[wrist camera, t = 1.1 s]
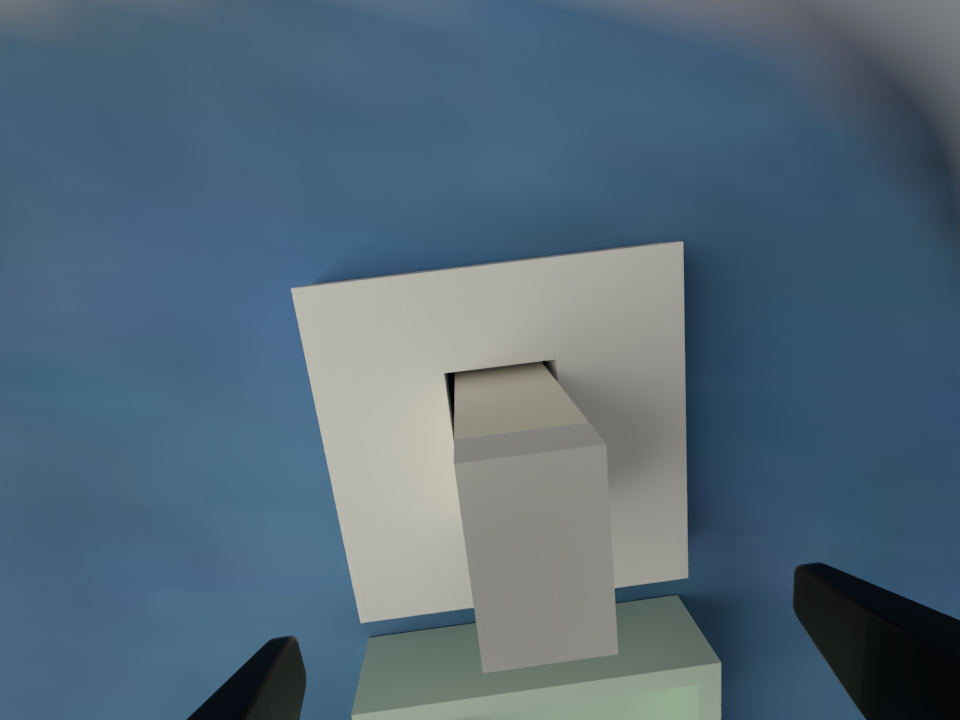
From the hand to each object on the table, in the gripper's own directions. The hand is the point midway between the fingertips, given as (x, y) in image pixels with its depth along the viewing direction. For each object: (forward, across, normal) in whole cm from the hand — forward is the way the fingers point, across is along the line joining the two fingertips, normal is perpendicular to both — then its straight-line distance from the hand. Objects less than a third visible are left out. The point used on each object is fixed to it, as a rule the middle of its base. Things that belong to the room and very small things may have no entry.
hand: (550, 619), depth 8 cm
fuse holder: (+9, 0, 0) cm, 9 cm away
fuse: (+9, 0, 0) cm, 9 cm away
